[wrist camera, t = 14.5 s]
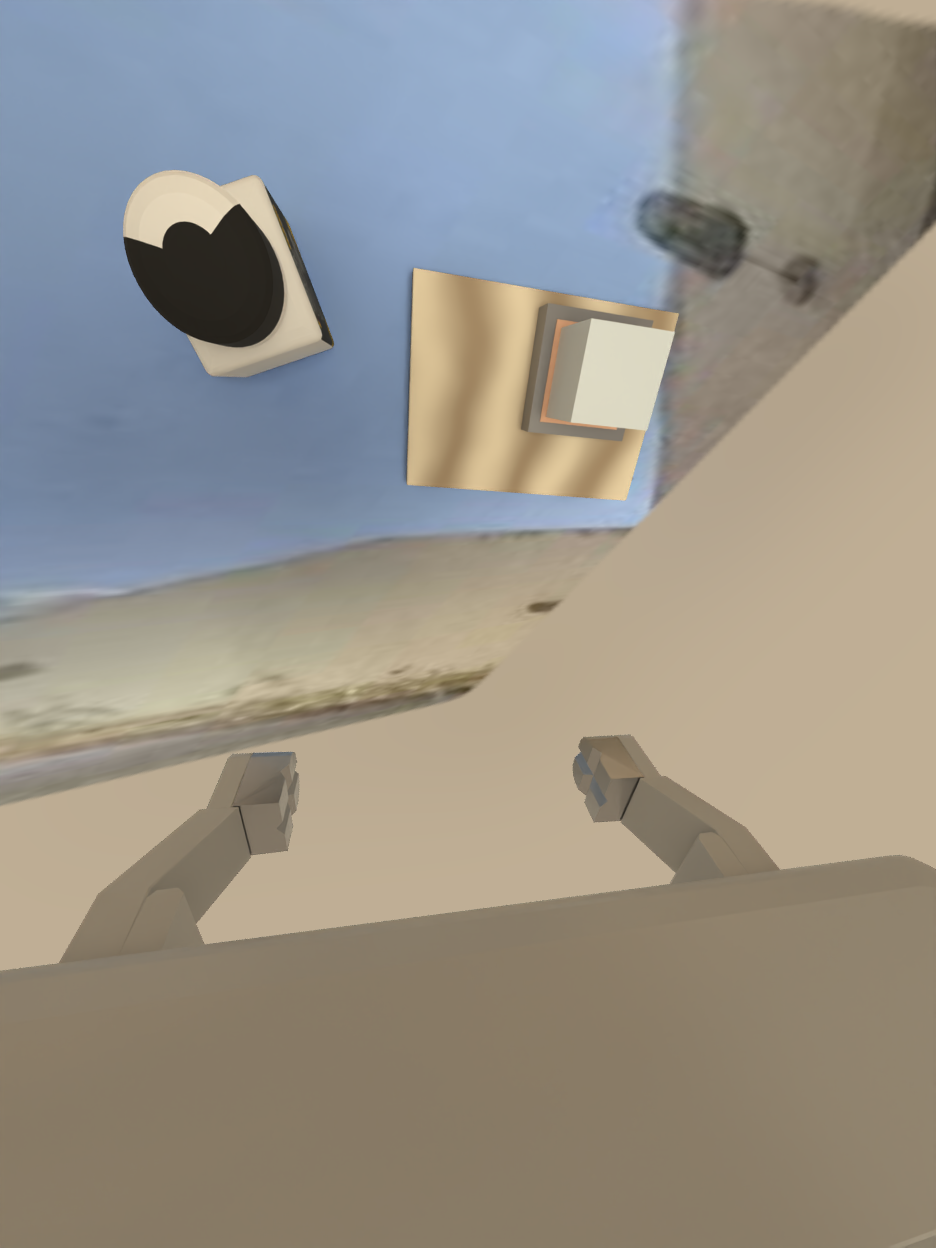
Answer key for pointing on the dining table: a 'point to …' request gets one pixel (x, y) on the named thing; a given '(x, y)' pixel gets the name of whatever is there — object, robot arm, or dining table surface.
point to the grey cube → (608, 373)
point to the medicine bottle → (224, 271)
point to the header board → (507, 391)
